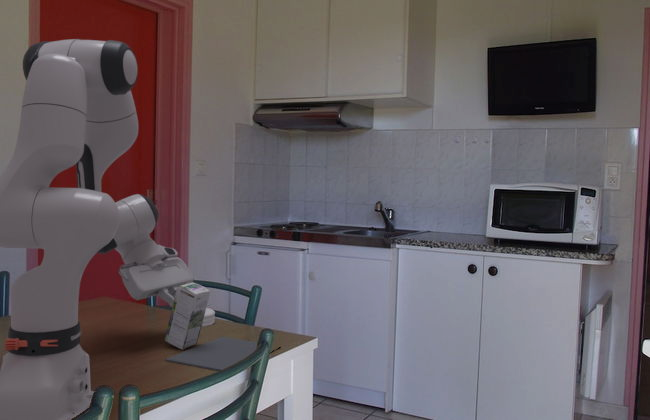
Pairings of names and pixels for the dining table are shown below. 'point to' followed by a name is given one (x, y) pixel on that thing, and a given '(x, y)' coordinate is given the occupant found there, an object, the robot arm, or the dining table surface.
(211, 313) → the white round tub
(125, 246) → the robot arm
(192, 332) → the syrup box
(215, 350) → the mat
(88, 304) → the dining table surface
